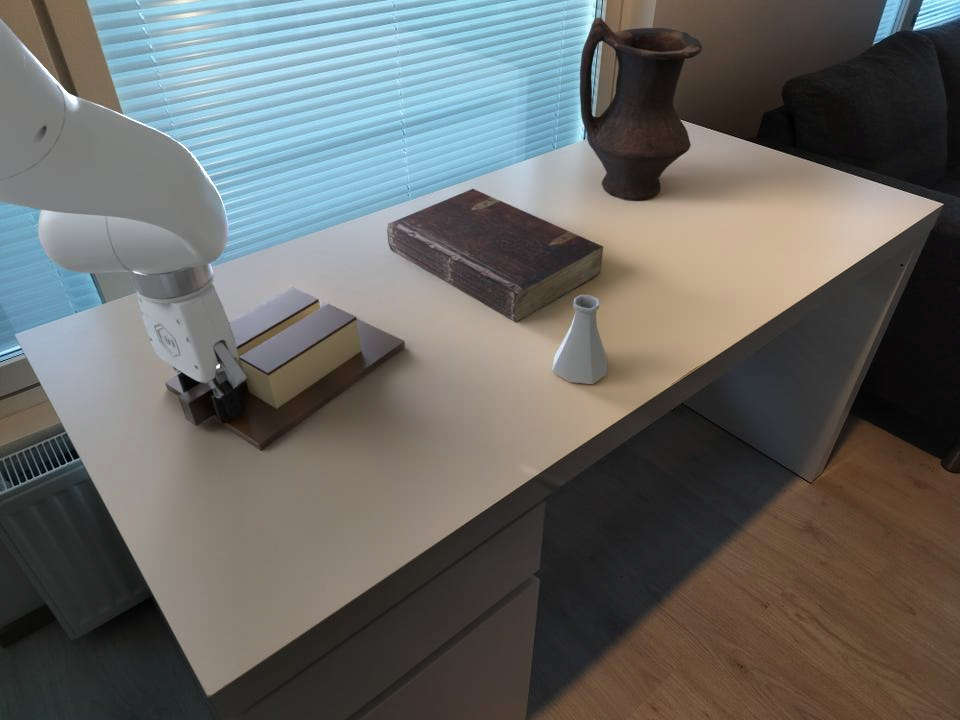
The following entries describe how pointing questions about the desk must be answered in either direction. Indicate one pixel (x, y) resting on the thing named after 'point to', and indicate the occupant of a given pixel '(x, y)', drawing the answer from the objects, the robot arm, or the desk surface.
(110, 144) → the robot arm
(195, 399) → the knife
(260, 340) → the cake
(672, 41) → the jug
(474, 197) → the hardback book
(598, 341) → the flask
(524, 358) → the desk surface
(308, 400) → the cake board
